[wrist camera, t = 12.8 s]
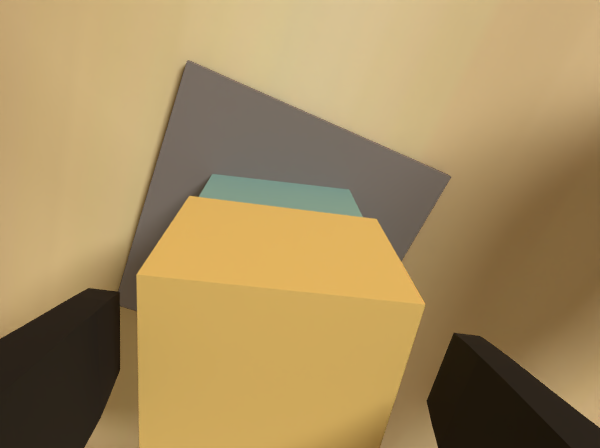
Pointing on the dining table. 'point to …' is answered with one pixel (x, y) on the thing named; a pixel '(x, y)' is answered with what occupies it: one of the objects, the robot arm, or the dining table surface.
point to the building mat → (273, 163)
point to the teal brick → (281, 194)
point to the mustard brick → (271, 329)
